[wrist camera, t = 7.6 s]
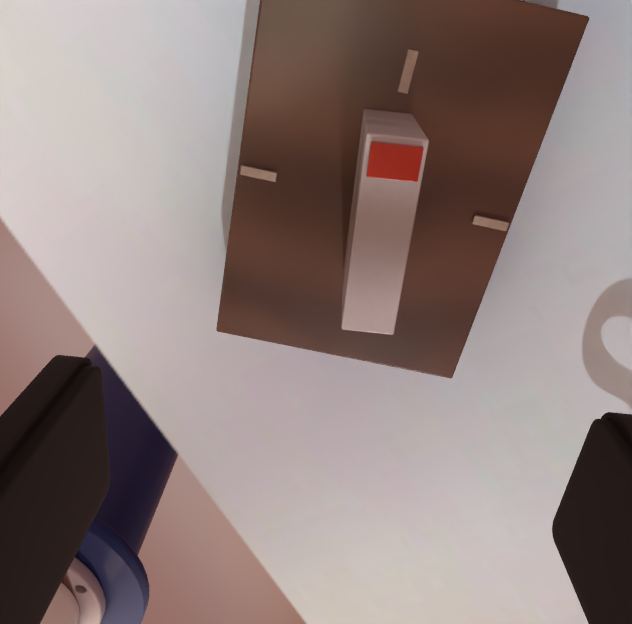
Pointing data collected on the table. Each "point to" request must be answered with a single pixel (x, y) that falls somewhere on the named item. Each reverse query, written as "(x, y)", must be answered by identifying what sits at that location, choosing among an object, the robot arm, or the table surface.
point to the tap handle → (381, 219)
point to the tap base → (342, 152)
